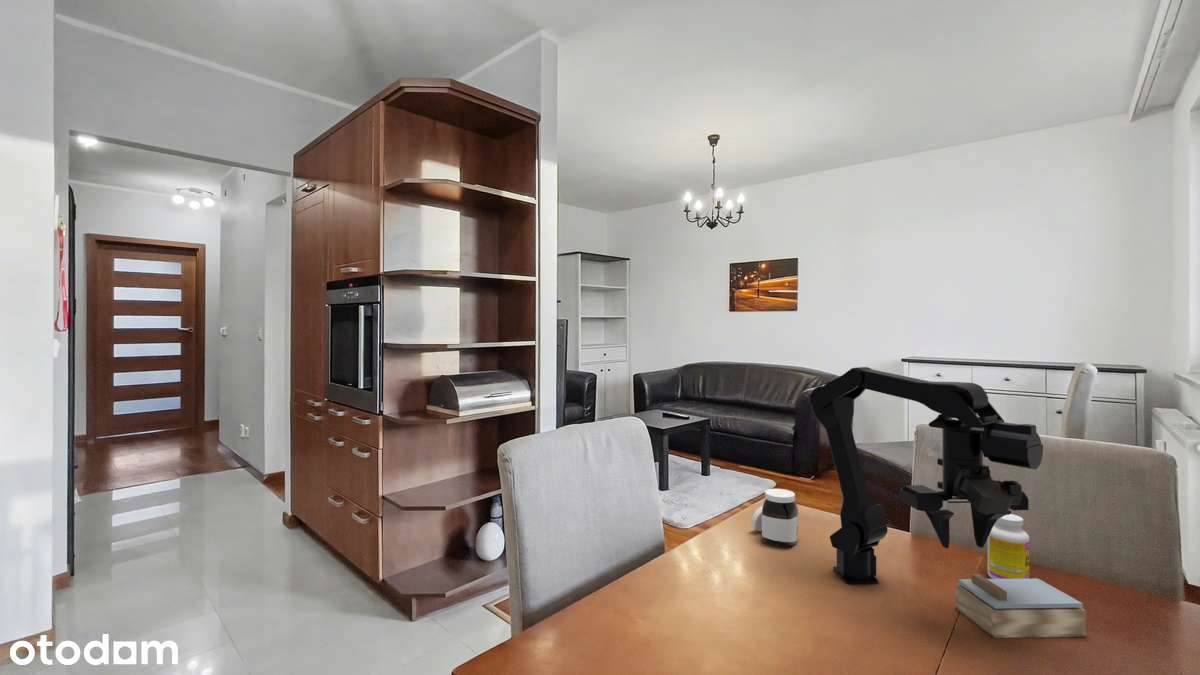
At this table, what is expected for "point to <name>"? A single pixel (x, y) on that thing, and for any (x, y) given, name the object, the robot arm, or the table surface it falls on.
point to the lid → (1018, 593)
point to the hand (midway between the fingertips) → (962, 547)
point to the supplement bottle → (1008, 549)
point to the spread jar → (777, 518)
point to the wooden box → (1021, 618)
